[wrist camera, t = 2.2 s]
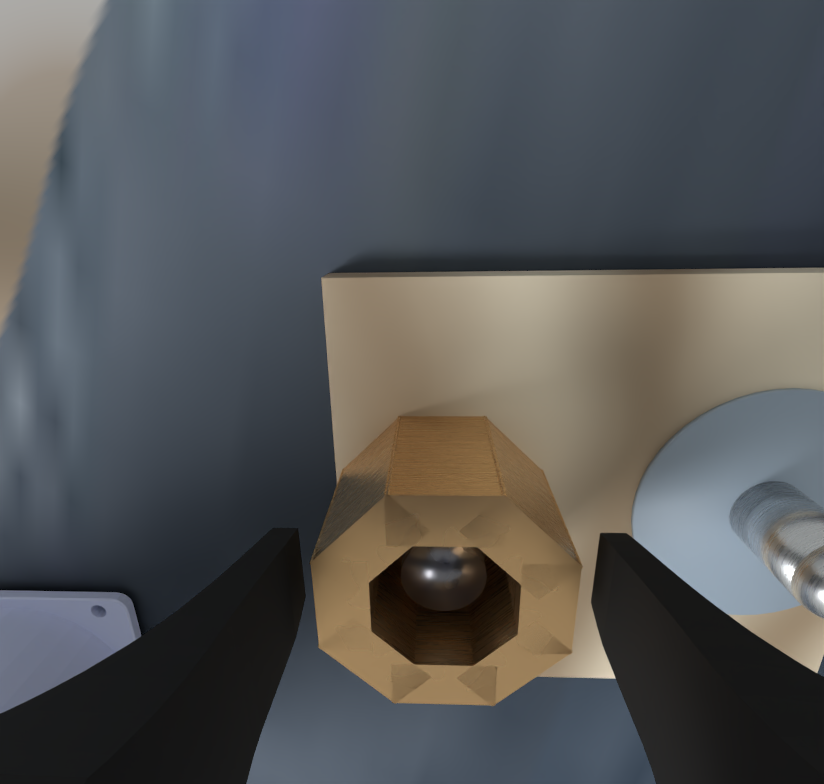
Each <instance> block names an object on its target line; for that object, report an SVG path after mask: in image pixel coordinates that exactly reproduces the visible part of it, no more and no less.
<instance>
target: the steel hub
mask: <svg viewBox="0 0 824 784" xmlns="http://www.w3.org/2000/svg"><path fill="white" fill-rule="evenodd" d="M729 521H730V525H731V528H732V530H733V531H734V533H735V534H736V535H737V536H738V537H739V538H740V539H741V540H742V541H743V543H744V544H745V545H746V546H747V547H748V548H749V549H750V550H751V551H752V552H753V553H754V554H755V556H756V557H757V558H758V559H759V560H760V561H761V562H762V563H763V564H764V565H765V566H766V567H767V569H768V570H769V571H770V572H771V573H772V574H773V575H774V576H775V577H776V578H777V579H778V580H779V582H780V583H781V584H782V585H783V586H784V587H785V588H786V589H787V590H788V591H789V592H790V593H791V595H792V596H793V597H794V598H795V599H796V600H797V601H798V602H799V603H800V604H801V605H802V606H803V607H804V608H806V609H807V610H808V611H810V612H811V613H813V614H815V615H816V616H818V617H820V618H823V619H824V509H823V508H822V507H821V506H819V505H818V504H817V503H816V502H814V501H813V500H812V499H810V498H809V497H808V496H806V495H805V494H804V493H803V492H801V491H800V490H799V489H797V488H796V487H795V486H793V485H791V484H789V483H786V482H781V481H769V482H764V483H760V484H757V485H755V486H753V487H751V488H749V489H747V490H746V491H745V492H743V493H742V494H741V495H740V496H739V497H738V498H737V499H736V501H735V502H734V504H733V506H732V508H731V511H730V515H729Z"/></svg>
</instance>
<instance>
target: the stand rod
mask: <svg viewBox="0 0 824 784" xmlns="http://www.w3.org/2000/svg"><path fill="white" fill-rule="evenodd" d="M486 579H487V574H486V566H485V559H484V552H483V551H481V550H480V549H479V548H478V547H425V546H412V547H411V548H410V549H408V550H407V551H406V552H405V553H404V554H403V555H402V565H401V582H402V586H403V588H404V590H405V592H406V593H407V594H408V596H409V597H410V598H411V599H412V600H413V601H415V602H416V603H418V604H419V605H421V606H423V607H426V608H428V609H432V610H437V611H451V610H456V609H460V608H463V607H465V606H467V605H469V604H471V603H472V602H474V601H475V600H476V599H477V598H478V597H479V596H480V594H481V593H482V591H483V589H484V587H485V584H486Z"/></svg>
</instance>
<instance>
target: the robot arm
mask: <svg viewBox="0 0 824 784" xmlns="http://www.w3.org/2000/svg"><path fill="white" fill-rule="evenodd" d="M304 601H305V587H304V578H303V569H302V560H301V551H300V542H299V533H298V528H273V529H272V530H270V531H269V532H268V533H267V534H266V535H265V536H264V537H263V538H262V539H260V540H259V541H258V542H257V543H256V544H255V545H254V546H253V547H252V548H251V549H250V550H248V551H247V552H246V553H245V554H244V555H243V556H242V557H241V558H240V559H239V560H238V561H236V562H235V563H234V564H233V565H232V566H231V567H230V568H229V569H227V570H226V571H225V572H224V573H223V574H222V575H221V576H219V577H218V578H217V579H216V580H215V581H214V582H212V583H211V584H210V585H209V586H208V587H206V588H205V589H204V590H203V591H201V592H200V593H199V594H198V595H196V596H195V597H194V598H193V599H191V600H190V601H189V602H188V603H187V604H185V605H184V606H183V607H182V608H180V609H179V610H178V611H176V612H175V613H174V614H172V615H171V616H170V617H168V618H167V619H165V620H164V621H163V622H161V623H160V624H158V625H157V626H155V627H154V628H153V629H151V630H150V631H148V632H147V633H145V634H144V635H142V636H141V632H140V628H139V624H138V620H137V616H136V613H135V609H134V605H133V603H132V601H131V599H130V598H129V597H128V596H127V595H125V594H123V593H118V592H72V591H13V590H0V784H246V782H247V779H248V775H249V771H250V768H251V764H252V760H253V756H254V753H255V750H256V747H257V744H258V741H259V737H260V734H261V731H262V729H263V726H264V723H265V720H266V718H267V715H268V712H269V710H270V707H271V704H272V701H273V699H274V696H275V693H276V691H277V688H278V685H279V682H280V680H281V677H282V674H283V672H284V669H285V666H286V663H287V661H288V658H289V655H290V652H291V650H292V647H293V644H294V641H295V638H296V635H297V631H298V627H299V623H300V619H301V614H302V610H303V605H304ZM591 605H592V609H593V613H594V617H595V620H596V624H597V628H598V631H599V635H600V638H601V642H602V645H603V648H604V650H605V653H606V655H607V658H608V660H609V663H610V665H611V668H612V670H613V673H614V675H615V678H616V680H617V683H618V685H619V688H620V690H621V692H622V695H623V697H624V700H625V702H626V705H627V707H628V709H629V712H630V714H631V717H632V719H633V722H634V724H635V726H636V729H637V731H638V734H639V736H640V739H641V741H642V744H643V746H644V749H645V752H646V754H647V757H648V760H649V763H650V765H651V768H652V771H653V775H654V778H655V781H656V784H824V677H823V676H821V675H819V674H817V673H816V672H814V671H812V670H811V669H809V668H807V667H806V666H804V665H802V664H801V663H799V662H797V661H796V660H794V659H792V658H791V657H789V656H788V655H786V654H785V653H783V652H782V651H780V650H778V649H777V648H775V647H774V646H772V645H771V644H769V643H768V642H766V641H765V640H763V639H761V638H760V637H758V636H757V635H756V634H754V633H753V632H751V631H750V630H748V629H747V628H745V627H744V626H742V625H741V624H740V623H738V622H737V621H736V620H734V619H733V618H732V617H730V616H729V615H727V614H726V613H725V612H723V611H722V610H721V609H719V608H718V607H717V606H715V605H714V604H713V603H711V602H710V601H709V600H707V599H706V598H705V597H704V596H702V595H701V594H700V593H699V592H697V591H696V590H695V589H693V588H692V587H691V586H690V585H689V584H687V583H686V582H685V581H684V580H682V579H681V578H680V577H679V576H678V575H676V574H675V573H674V572H673V571H672V570H670V569H669V568H668V567H667V566H666V565H664V564H663V563H662V562H661V561H660V560H658V559H657V558H656V557H655V556H654V555H653V554H651V553H650V552H649V551H648V550H647V549H646V548H644V547H643V546H642V545H641V544H640V543H638V542H637V541H636V540H635V539H634V538H632V537H631V536H630V535H628V534H627V533H600V537H599V544H598V552H597V559H596V567H595V574H594V582H593V589H592V597H591ZM101 606H102V607H101Z"/></svg>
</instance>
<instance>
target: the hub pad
mask: <svg viewBox="0 0 824 784" xmlns="http://www.w3.org/2000/svg"><path fill="white" fill-rule="evenodd" d="M769 481H781V482H786V483H789V484H791V485H793V486H795V487H796V488H797V489H799V490H800V491H801V492H803V493H804V494H805V495H806V496H808V497H809V498H810V499H812V500H813V501H814V502H816V503H817V504H818V505H819V506H821V507H822V508H823V509H824V391H820V390H814V389H802V388H785V389H772V390H767V391H761V392H755V393H752V394H748V395H745V396H741V397H738V398H735V399H733V400H730V401H728V402H725V403H723V404H720V405H718V406H716V407H714V408H712V409H711V410H709V411H707V412H705V413H703V414H701V415H700V416H698V417H697V418H695V419H694V420H692V421H691V422H690V423H688V424H687V425H685V426H684V427H683V428H682V429H681V430H679V431H678V432H677V433H676V434H675V435H674V436H672V437H671V438H670V439H669V440H668V441H667V443H666V444H665V445H664V446H663V447H662V448H661V449H660V450H659V451H658V453H657V454H656V455H655V457H654V458H653V460H652V461H651V462H650V464H649V465H648V467H647V469H646V471H645V473H644V474H643V476H642V478H641V480H640V483H639V485H638V488H637V490H636V493H635V497H634V502H633V506H632V516H631V527H632V537H633V538H634V539H635V540H636V541H637V542H638V543H640V544H641V545H642V546H643V547H644V548H646V549H647V550H648V551H649V552H650V553H651V554H653V555H654V556H655V557H656V558H657V559H658V560H660V561H661V562H662V563H663V564H664V565H666V566H667V567H668V568H669V569H670V570H672V571H673V572H674V573H675V574H676V575H678V576H679V577H680V578H681V579H682V580H684V581H685V582H686V583H687V584H689V585H690V586H691V587H692V588H693V589H695V590H696V591H697V592H699V593H700V594H701V595H702V596H704V597H705V598H706V599H707V600H709V601H710V602H711V603H713V604H714V605H715V606H717V607H718V608H719V609H721V610H722V611H723V612H725V613H726V614H731V615H758V614H765V613H773V612H777V611H782V610H786V609H790V608H793V607H797V606H800V605H801V604H800V603H799V602H798V601H797V600H796V599H795V598H794V597H793V596H792V595H791V593H790V592H789V591H788V590H787V589H786V588H785V587H784V586H783V585H782V584H781V583H780V582H779V580H778V579H777V578H776V577H775V576H774V575H773V574H772V573H771V572H770V571H769V570H768V569H767V567H766V566H765V565H764V564H763V563H762V562H761V561H760V560H759V559H758V558H757V557H756V556H755V554H754V553H753V552H752V551H751V550H750V549H749V548H748V547H747V546H746V545H745V544H744V543H743V541H742V540H741V539H740V538H739V537H738V536H737V535H736V534H735V533H734V531H733V530H732V528H731V525H730V521H729V515H730V511H731V508H732V506H733V504H734V502H735V501H736V499H737V498H738V497H739V496H740V495H741V494H742V493H743V492H745V491H746V490H747V489H749V488H751V487H753V486H755V485H757V484H760V483H764V482H769Z"/></svg>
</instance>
